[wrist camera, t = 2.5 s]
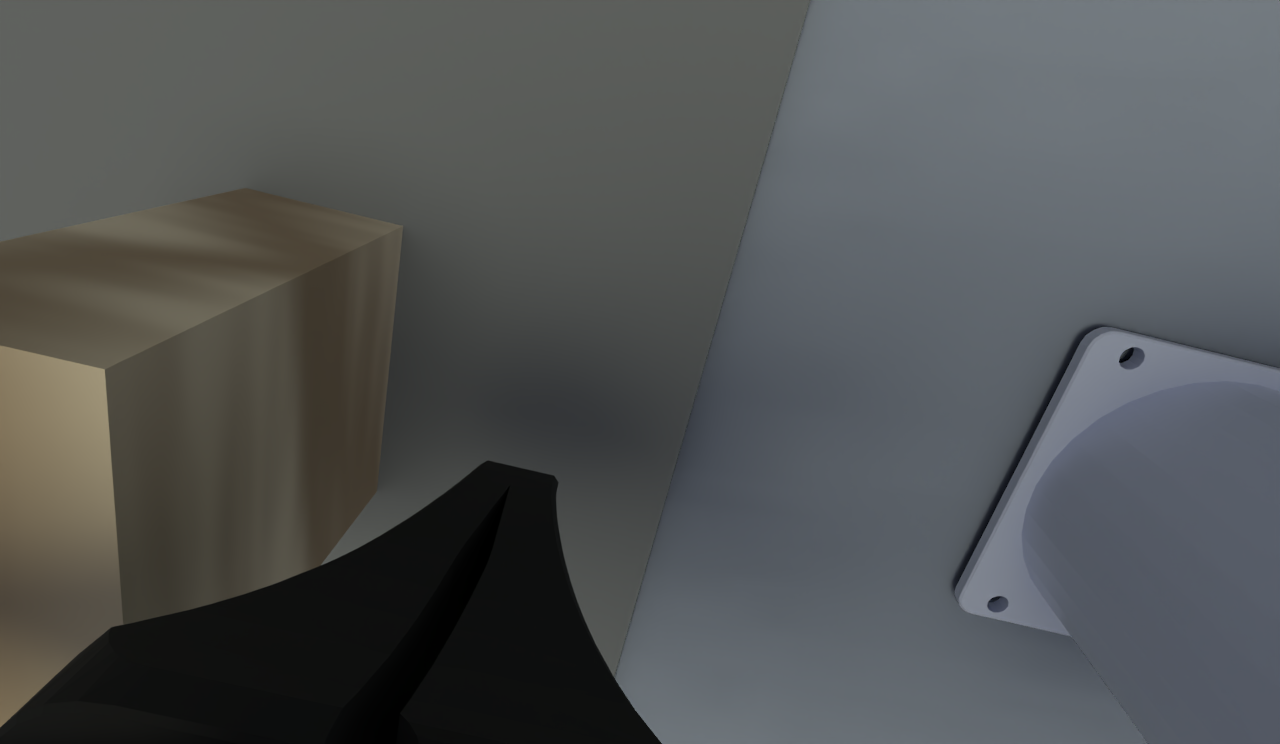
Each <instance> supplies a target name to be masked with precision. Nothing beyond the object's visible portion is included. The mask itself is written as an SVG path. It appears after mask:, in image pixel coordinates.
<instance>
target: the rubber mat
mask: <svg viewBox="0 0 1280 744" xmlns="http://www.w3.org/2000/svg"><path fill="white" fill-rule="evenodd" d="M809 3H810V0H0V241H5V240H10V239H14V238H19V237H23V236H28V235H32V234H37V233H42V232H46V231H51V230H55V229H60V228H64V227H69V226H74V225H78V224H83V223H87V222H92V221H96V220H101V219H106V218H110V217H115V216H119V215H124V214H128V213H133V212H138V211H142V210H147V209H151V208H156V207H160V206H165V205H169V204H174V203H179V202H183V201H188V200H192V199H197V198H201V197H206V196H211V195H215V194H220V193H224V192H229V191H233V190H238V189H243V188H247V189H252V190H256V191H260V192H264V193H268V194H272V195H276V196H281V197H285V198H289V199H293V200H297V201H301V202H306V203H310V204H314V205H318V206H322V207H326V208H330V209H335V210H339V211H343V212H347V213H351V214H355V215H359V216H364V217H368V218H372V219H376V220H380V221H384V222H389V223H393V224H397V225H401V226H403V233H402V243H401V253H400V263H399V273H398V283H397V294H396V304H395V314H394V324H393V334H392V344H391V354H390V364H389V374H388V384H387V394H386V405H385V415H384V425H383V435H382V445H381V455H380V465H379V475H378V485H377V492H376V493H375V495H374V496H373V497H372V499H371V500H370V501H369V502H368V504H367V505H366V506H365V508H364V509H363V510H362V512H361V513H360V514H359V516H358V517H357V518H356V520H355V521H354V522H353V523H352V525H351V526H350V527H349V529H348V530H347V531H346V533H345V534H344V535H343V537H342V538H341V539H340V541H339V542H338V543H337V544H336V546H335V547H334V548H333V550H332V551H331V552H330V554H329V555H328V556H327V558H326V559H325V560H324V561H323V563H322V564H321V565H323V564H326V563H328V562H330V561H332V560H335V559H337V558H339V557H341V556H343V555H345V554H347V553H349V552H351V551H353V550H355V549H357V548H359V547H361V546H362V545H364V544H366V543H368V542H370V541H371V540H373V539H375V538H377V537H379V536H380V535H382V534H384V533H385V532H387V531H388V530H390V529H392V528H393V527H395V526H396V525H398V524H400V523H401V522H403V521H405V520H406V519H408V518H409V517H411V516H412V515H414V514H415V513H417V512H418V511H420V510H421V509H423V508H424V507H426V506H427V505H428V504H430V503H431V502H433V501H434V500H435V499H437V498H438V497H440V496H441V495H442V494H444V493H445V492H446V491H448V490H449V489H450V488H452V487H453V486H454V485H456V484H457V483H458V482H459V481H461V480H462V479H463V478H465V477H466V476H467V475H468V474H469V473H471V472H472V471H473V470H474V469H476V468H477V467H478V466H479V465H480V464H482V463H484V462H486V461H487V460H489V461H493V462H497V463H502V464H506V465H510V466H515V467H519V468H523V469H528V470H532V471H537V472H541V473H545V474H550V475H554V476H555V478H556V479H557V481H558V482H559V484H558V488H557V493H556V508H557V520H558V528H559V533H560V539H561V544H562V550H563V554H564V558H565V563H566V566H567V570H568V573H569V577H570V581H571V584H572V587H573V590H574V593H575V596H576V599H577V602H578V604H579V607H580V609H581V612H582V614H583V617H584V619H585V622H586V624H587V626H588V628H589V631H590V633H591V635H592V637H593V639H594V642H595V644H596V646H597V647H598V649H599V651H600V653H601V655H602V656H603V658H604V660H605V662H606V664H607V665H608V667H609V669H610V671H611V673H612V675H613V676H614V677H615V673H616V670H617V666H618V663H619V660H620V656H621V653H622V649H623V646H624V642H625V639H626V635H627V632H628V628H629V625H630V622H631V618H632V615H633V611H634V608H635V604H636V601H637V597H638V594H639V590H640V587H641V584H642V580H643V577H644V573H645V570H646V566H647V563H648V559H649V556H650V552H651V549H652V546H653V542H654V539H655V535H656V532H657V528H658V525H659V521H660V518H661V514H662V511H663V508H664V504H665V501H666V497H667V494H668V490H669V487H670V483H671V480H672V476H673V473H674V470H675V466H676V463H677V459H678V456H679V452H680V449H681V445H682V442H683V438H684V435H685V432H686V428H687V425H688V421H689V418H690V414H691V411H692V407H693V404H694V400H695V397H696V394H697V390H698V387H699V383H700V380H701V376H702V373H703V369H704V366H705V362H706V359H707V356H708V352H709V349H710V345H711V342H712V338H713V335H714V331H715V328H716V324H717V321H718V318H719V314H720V311H721V307H722V304H723V300H724V297H725V293H726V290H727V286H728V283H729V280H730V276H731V273H732V269H733V266H734V262H735V259H736V255H737V252H738V248H739V245H740V241H741V238H742V235H743V231H744V228H745V224H746V221H747V217H748V214H749V210H750V207H751V203H752V200H753V197H754V193H755V190H756V186H757V183H758V179H759V176H760V172H761V169H762V165H763V162H764V159H765V155H766V152H767V148H768V145H769V141H770V138H771V134H772V131H773V127H774V124H775V121H776V117H777V114H778V110H779V107H780V103H781V100H782V96H783V93H784V89H785V86H786V83H787V79H788V76H789V72H790V69H791V65H792V62H793V58H794V55H795V51H796V48H797V45H798V41H799V38H800V34H801V31H802V27H803V24H804V20H805V17H806V13H807V10H808V7H809ZM321 565H320V566H321Z"/></svg>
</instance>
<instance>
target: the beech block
mask: <svg viewBox="0 0 1280 744" xmlns="http://www.w3.org/2000/svg"><path fill="white" fill-rule="evenodd" d="M402 233H403V226H401V225H397V224H393V223H389V222H384V221H380V220H376V219H372V218H368V217H364V216H359V215H355V214H351V213H347V212H343V211H339V210H335V209H330V208H326V207H322V206H318V205H314V204H310V203H306V202H301V201H297V200H293V199H289V198H285V197H281V196H276V195H272V194H268V193H264V192H260V191H256V190H252V189H247V188H243V189H238V190H233V191H229V192H224V193H220V194H215V195H211V196H206V197H201V198H197V199H192V200H188V201H183V202H179V203H174V204H169V205H165V206H160V207H156V208H151V209H147V210H142V211H138V212H133V213H128V214H124V215H119V216H115V217H110V218H106V219H101V220H96V221H92V222H87V223H83V224H78V225H74V226H69V227H64V228H60V229H55V230H51V231H46V232H42V233H37V234H32V235H28V236H23V237H19V238H14V239H10V240H5V241H0V727H1V726H2V725H3V724H5V723H6V722H7V721H8V720H9V719H10V718H11V717H12V716H13V715H14V714H15V713H16V712H17V711H18V710H19V709H20V708H21V707H23V706H24V705H25V704H26V703H27V702H28V701H29V700H30V699H31V698H32V697H33V696H34V695H35V694H36V693H37V692H38V691H39V690H41V689H42V688H43V687H44V686H45V685H46V684H47V683H48V682H49V681H50V680H51V679H52V678H53V677H54V676H55V675H56V674H58V673H59V672H60V671H61V670H62V669H63V668H64V667H65V666H66V665H67V664H68V663H69V662H70V661H71V660H73V659H74V658H75V657H76V656H77V655H78V654H79V653H80V652H82V651H83V650H84V649H85V648H87V647H88V646H89V645H90V644H91V643H93V642H94V641H95V640H96V639H98V638H99V637H100V636H101V635H102V634H104V633H105V632H106V631H107V630H108V629H110V628H111V627H114V626H119V625H125V624H130V623H134V622H138V621H143V620H147V619H151V618H156V617H160V616H164V615H169V614H173V613H177V612H182V611H186V610H190V609H194V608H198V607H202V606H205V605H209V604H213V603H216V602H219V601H223V600H226V599H230V598H233V597H236V596H240V595H243V594H246V593H249V592H252V591H255V590H258V589H261V588H264V587H267V586H270V585H273V584H275V583H278V582H281V581H283V580H286V579H288V578H291V577H293V576H296V575H298V574H301V573H303V572H306V571H308V570H311V569H313V568H316V567H318V566H320V565H321V564H322V563H323V561H324V560H325V559H326V558H327V556H328V555H329V554H330V552H331V551H332V550H333V548H334V547H335V546H336V544H337V543H338V542H339V541H340V539H341V538H342V537H343V535H344V534H345V533H346V531H347V530H348V529H349V527H350V526H351V525H352V523H353V522H354V521H355V520H356V518H357V517H358V516H359V514H360V513H361V512H362V510H363V509H364V508H365V506H366V505H367V504H368V502H369V501H370V500H371V499H372V497H373V496H374V495H375V493H376V492H377V485H378V475H379V465H380V455H381V445H382V435H383V425H384V415H385V405H386V394H387V384H388V374H389V364H390V354H391V344H392V334H393V324H394V314H395V304H396V294H397V283H398V273H399V263H400V253H401V243H402Z"/></svg>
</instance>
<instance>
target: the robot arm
mask: <svg viewBox="0 0 1280 744" xmlns="http://www.w3.org/2000/svg"><path fill="white" fill-rule="evenodd" d="M1131 347H1133V348H1134V351H1133V355H1132V356H1131V357H1130V359H1129V360H1127V361H1125V362H1123V363H1119V359H1120V356H1121V354H1122V353H1123V352H1124V351H1125V350H1127V349H1129V348H1131ZM558 484H559V482H558V481H557V479H556V478H555V476H554V475H550V474H545V473H541V472H537V471H532V470H528V469H523V468H519V467H515V466H510V465H506V464H502V463H497V462H493V461H489V460H487V461H486V462H484V463H482V464H480V465H479V466H478V467H477V468H476V469H474V470H473V471H472V472H471V473H469V474H468V475H467V476H466V477H465V478H463V479H462V480H461V481H459V482H458V483H457V484H456V485H454V486H453V487H452V488H450V489H449V490H448V491H446V492H445V493H444V494H442V495H441V496H440V497H438V498H437V499H435V500H434V501H433V502H431V503H430V504H428V505H427V506H426V507H424V508H423V509H421V510H420V511H418V512H417V513H415V514H414V515H412V516H411V517H409V518H408V519H406V520H405V521H403V522H401V523H400V524H398V525H396V526H395V527H393V528H392V529H390V530H388V531H387V532H385V533H384V534H382V535H380V536H379V537H377V538H375V539H373V540H371V541H370V542H368V543H366V544H364V545H362V546H361V547H359V548H357V549H355V550H353V551H351V552H349V553H347V554H345V555H343V556H341V557H339V558H337V559H335V560H332V561H330V562H328V563H326V564H323V565H321V566H318V567H316V568H313V569H311V570H308V571H306V572H303V573H301V574H298V575H296V576H293V577H291V578H288V579H286V580H283V581H281V582H278V583H275V584H273V585H270V586H267V587H264V588H261V589H258V590H255V591H252V592H249V593H246V594H243V595H240V596H236V597H233V598H230V599H226V600H223V601H219V602H216V603H213V604H209V605H205V606H202V607H198V608H194V609H190V610H186V611H182V612H177V613H173V614H169V615H164V616H160V617H156V618H151V619H147V620H143V621H138V622H134V623H130V624H125V625H119V626H114V627H111V628H110V629H108V630H107V631H106V632H105V633H104V634H102V635H101V636H100V637H99V638H98V639H96V640H95V641H94V642H93V643H91V644H90V645H89V646H88V647H87V648H85V649H84V650H83V651H82V652H80V653H79V654H78V655H77V656H76V657H75V658H74V659H73V660H71V661H70V662H69V663H68V664H67V665H66V666H65V667H64V668H63V669H62V670H61V671H60V672H59V673H58V674H56V675H55V676H54V677H53V678H52V679H51V680H50V681H49V682H48V683H47V684H46V685H45V686H44V687H43V688H42V689H41V690H39V691H38V692H37V693H36V694H35V695H34V696H33V697H32V698H31V699H30V700H29V701H28V702H27V703H26V704H25V705H24V706H23V707H21V708H20V709H19V710H18V711H17V712H16V713H15V714H14V715H13V716H12V717H11V718H10V719H9V720H8V721H7V722H6V723H5V724H3V725H2V726H1V727H0V744H662V743H661V742H660V741H659V740H658V738H657V737H656V736H655V735H654V733H653V732H652V731H651V730H650V728H649V727H648V726H647V725H646V723H645V722H644V721H643V720H642V718H641V717H640V716H639V715H638V713H637V712H636V711H635V709H634V708H633V706H632V705H631V703H630V702H629V700H628V699H627V697H626V696H625V694H624V693H623V691H622V690H621V688H620V687H619V685H618V683H617V682H616V680H615V678H614V676H613V675H612V673H611V671H610V669H609V667H608V665H607V664H606V662H605V660H604V658H603V656H602V655H601V653H600V651H599V649H598V647H597V646H596V644H595V642H594V639H593V637H592V635H591V633H590V631H589V628H588V626H587V624H586V622H585V619H584V617H583V614H582V612H581V609H580V607H579V604H578V602H577V599H576V596H575V593H574V590H573V587H572V584H571V581H570V577H569V573H568V570H567V566H566V563H565V558H564V554H563V550H562V544H561V539H560V533H559V528H558V520H557V508H556V493H557V488H558ZM954 593H955V597H956V600H957V602H958V603H959V605H960V607H961V608H962V609H963V610H964V611H966V612H968V613H971V614H975V615H979V616H983V617H988V618H992V619H997V620H1001V621H1005V622H1010V623H1014V624H1019V625H1023V626H1027V627H1032V628H1036V629H1040V630H1045V631H1049V632H1054V633H1058V634H1062V635H1067V636H1071V637H1072V638H1073V639H1074V641H1075V642H1076V644H1077V645H1078V646H1079V648H1080V649H1081V651H1082V652H1083V653H1084V655H1085V656H1086V658H1087V659H1088V660H1089V662H1090V663H1091V665H1092V666H1093V667H1094V669H1095V670H1096V672H1097V673H1098V674H1099V676H1100V677H1101V679H1102V680H1103V681H1104V683H1105V684H1106V686H1107V687H1108V688H1109V690H1110V691H1111V692H1112V694H1113V695H1114V697H1115V698H1116V699H1117V701H1118V702H1119V704H1120V705H1121V706H1122V708H1123V709H1124V711H1125V712H1126V713H1127V715H1128V716H1129V718H1130V719H1131V720H1132V722H1133V723H1134V725H1135V726H1136V727H1137V729H1138V730H1139V732H1140V733H1141V734H1142V736H1143V737H1144V739H1145V740H1146V741H1147V743H1148V744H1280V368H1277V367H1272V366H1268V365H1264V364H1260V363H1256V362H1252V361H1248V360H1244V359H1240V358H1236V357H1232V356H1227V355H1223V354H1219V353H1215V352H1211V351H1207V350H1203V349H1199V348H1195V347H1191V346H1187V345H1183V344H1178V343H1174V342H1170V341H1166V340H1162V339H1158V338H1154V337H1150V336H1146V335H1142V334H1138V333H1133V332H1129V331H1125V330H1121V329H1117V328H1113V327H1101V328H1098V329H1095V330H1093V331H1091V332H1090V333H1088V334H1087V335H1086V336H1085V337H1084V338H1083V340H1082V341H1081V342H1080V344H1079V346H1078V348H1077V350H1076V352H1075V354H1074V356H1073V358H1072V360H1071V362H1070V364H1069V366H1068V368H1067V370H1066V372H1065V374H1064V376H1063V378H1062V379H1061V381H1060V383H1059V385H1058V387H1057V389H1056V391H1055V393H1054V395H1053V397H1052V399H1051V401H1050V403H1049V405H1048V407H1047V409H1046V411H1045V413H1044V415H1043V417H1042V419H1041V421H1040V423H1039V425H1038V427H1037V429H1036V431H1035V433H1034V434H1033V436H1032V438H1031V440H1030V442H1029V444H1028V446H1027V448H1026V450H1025V452H1024V454H1023V456H1022V458H1021V460H1020V462H1019V464H1018V466H1017V468H1016V470H1015V472H1014V474H1013V476H1012V478H1011V480H1010V482H1009V484H1008V486H1007V488H1006V489H1005V491H1004V493H1003V495H1002V497H1001V499H1000V501H999V503H998V505H997V507H996V509H995V511H994V513H993V515H992V517H991V519H990V521H989V523H988V525H987V527H986V529H985V531H984V533H983V535H982V537H981V539H980V541H979V542H978V544H977V546H976V548H975V550H974V552H973V554H972V556H971V558H970V560H969V562H968V564H967V566H966V568H965V570H964V572H963V574H962V576H961V578H960V580H959V582H958V584H957V586H956V588H955V592H954ZM996 596H1001V597H1000V598H999V599H998V600H996V601H994V602H989V600H990V599H991V598H993V597H996Z"/></svg>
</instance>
